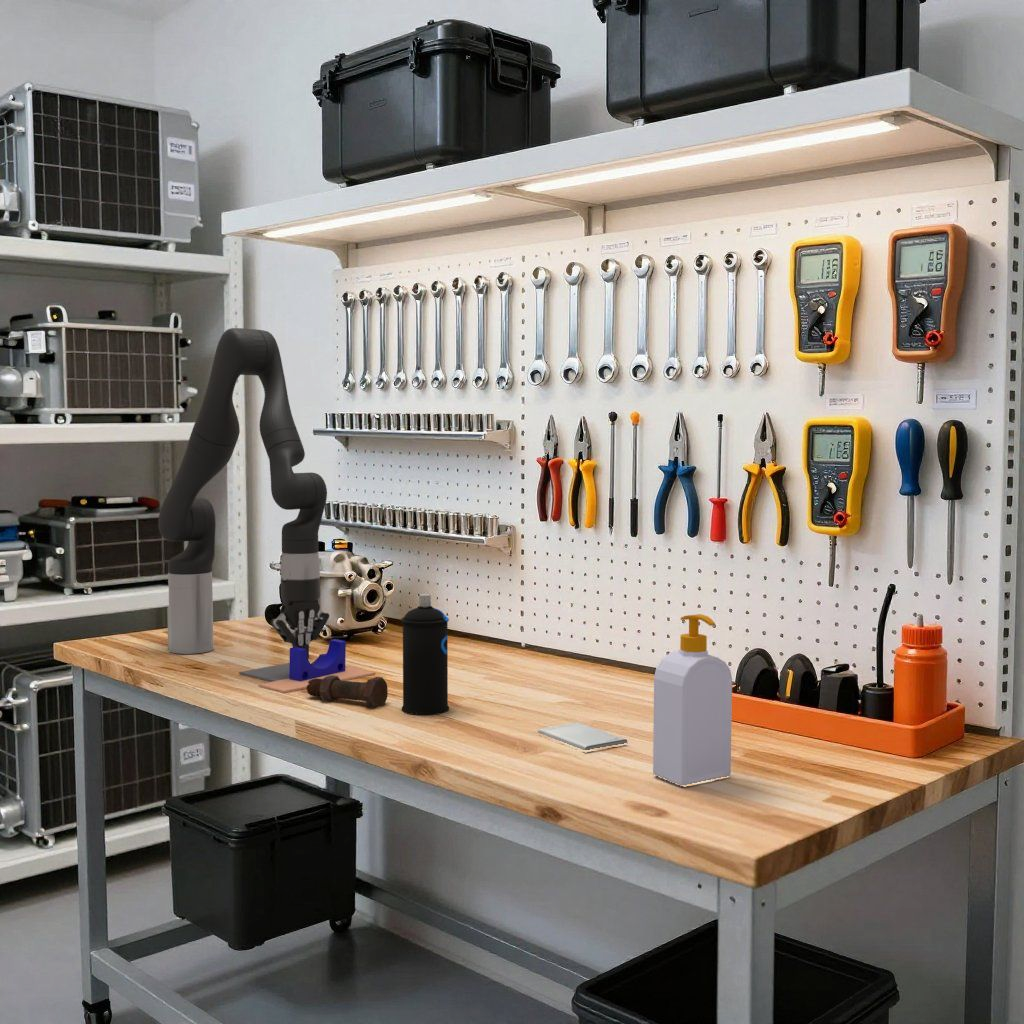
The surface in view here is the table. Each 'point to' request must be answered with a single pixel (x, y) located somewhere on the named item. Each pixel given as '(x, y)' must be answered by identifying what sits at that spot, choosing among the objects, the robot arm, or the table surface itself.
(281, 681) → the t mat
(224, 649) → the table surface
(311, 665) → the blue cradle block
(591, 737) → the hard drive
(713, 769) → the soap bottle
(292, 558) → the robot arm
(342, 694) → the bolt
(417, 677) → the aerosol can
